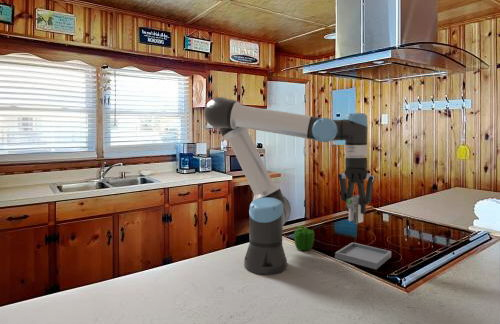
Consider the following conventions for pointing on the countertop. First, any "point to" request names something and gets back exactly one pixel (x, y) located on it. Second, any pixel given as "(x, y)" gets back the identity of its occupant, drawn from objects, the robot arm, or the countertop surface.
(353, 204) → the mechanical component
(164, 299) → the countertop surface
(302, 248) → the bell pepper
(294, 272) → the countertop surface
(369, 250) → the tray
